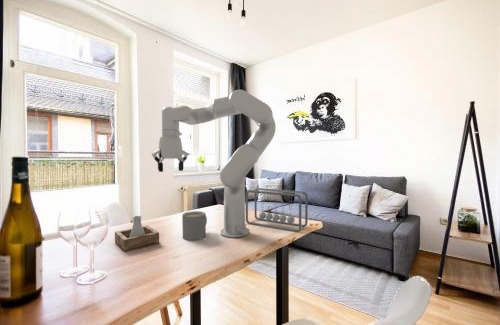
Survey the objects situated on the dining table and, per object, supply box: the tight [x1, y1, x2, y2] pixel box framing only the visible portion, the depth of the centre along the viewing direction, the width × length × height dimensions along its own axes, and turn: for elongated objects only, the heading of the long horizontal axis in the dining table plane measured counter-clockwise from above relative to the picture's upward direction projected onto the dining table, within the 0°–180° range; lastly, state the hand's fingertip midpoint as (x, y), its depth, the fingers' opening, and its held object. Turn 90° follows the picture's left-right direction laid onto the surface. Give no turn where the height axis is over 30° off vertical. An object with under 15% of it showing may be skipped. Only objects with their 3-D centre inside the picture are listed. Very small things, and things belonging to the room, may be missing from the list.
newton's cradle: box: [245, 187, 309, 233], centre depth 123 cm, size 30×10×18 cm, turn 59°
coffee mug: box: [181, 210, 208, 241], centre depth 108 cm, size 13×10×10 cm
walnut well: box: [114, 225, 160, 253], centre depth 98 cm, size 13×13×4 cm
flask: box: [129, 215, 145, 238], centre depth 98 cm, size 7×7×10 cm
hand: (171, 171), depth 113 cm, fingers open, 9 cm apart
